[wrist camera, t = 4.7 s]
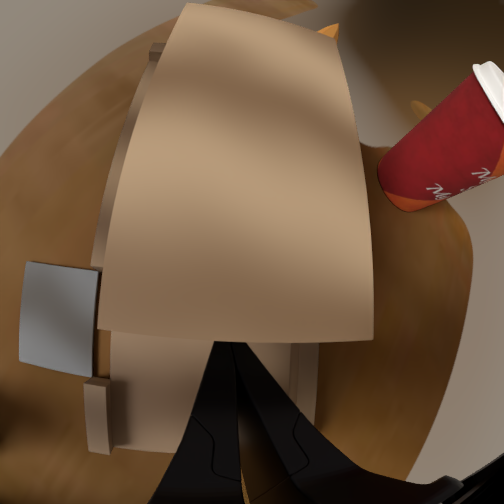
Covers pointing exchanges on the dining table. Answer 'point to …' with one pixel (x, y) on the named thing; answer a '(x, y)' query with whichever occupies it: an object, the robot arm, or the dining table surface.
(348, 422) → the dining table surface
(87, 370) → the tan shallow tray
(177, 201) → the tea box
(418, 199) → the paper cup
